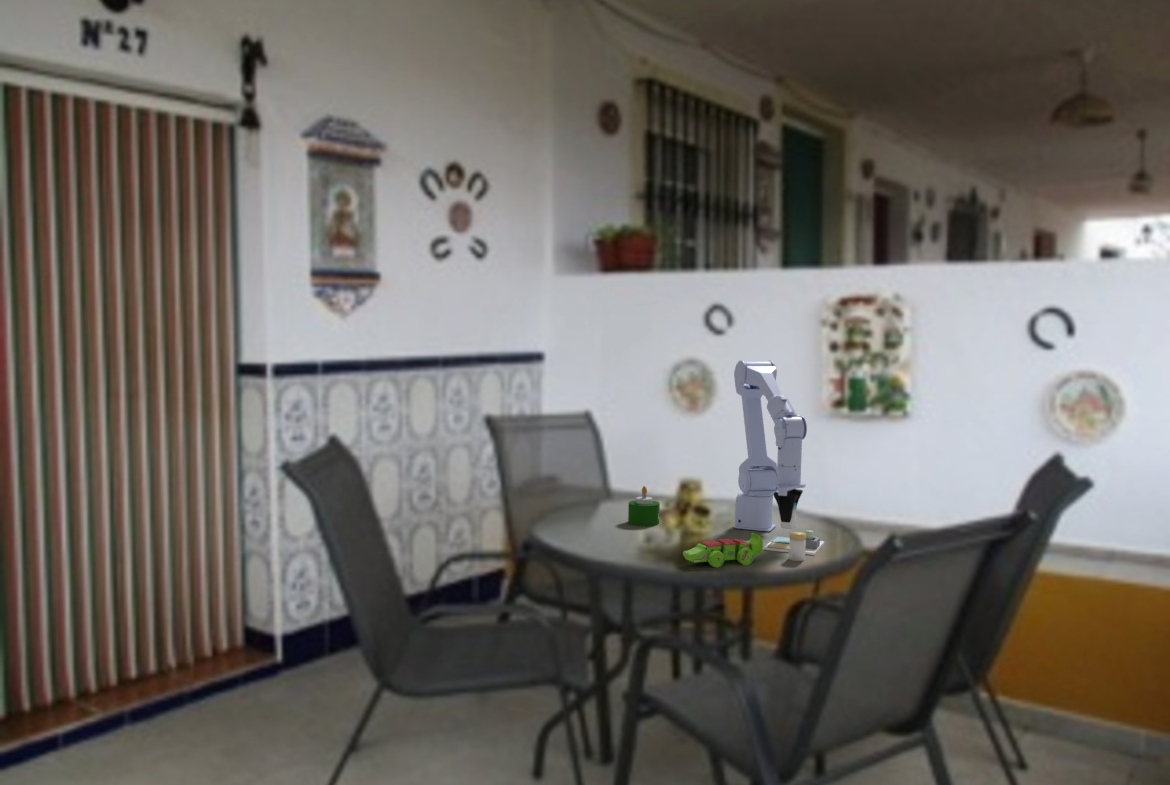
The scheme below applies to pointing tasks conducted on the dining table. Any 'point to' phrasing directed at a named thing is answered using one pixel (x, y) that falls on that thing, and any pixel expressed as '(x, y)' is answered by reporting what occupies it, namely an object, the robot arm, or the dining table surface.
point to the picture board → (783, 545)
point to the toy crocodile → (726, 551)
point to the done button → (809, 534)
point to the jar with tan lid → (797, 546)
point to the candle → (643, 511)
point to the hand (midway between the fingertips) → (787, 520)
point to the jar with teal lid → (793, 520)
